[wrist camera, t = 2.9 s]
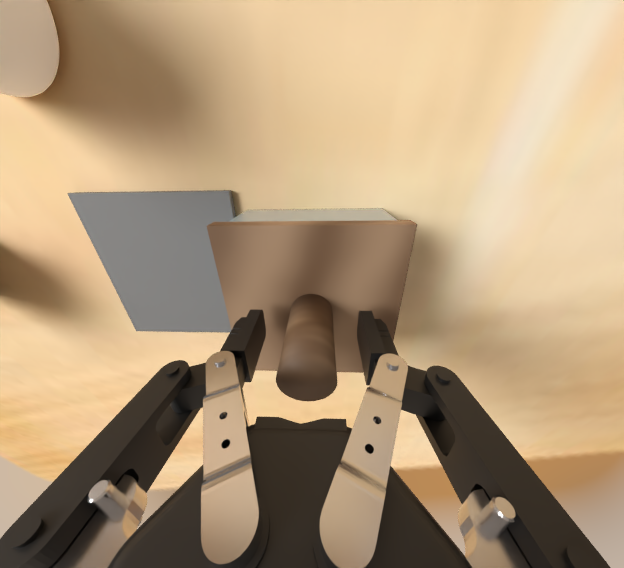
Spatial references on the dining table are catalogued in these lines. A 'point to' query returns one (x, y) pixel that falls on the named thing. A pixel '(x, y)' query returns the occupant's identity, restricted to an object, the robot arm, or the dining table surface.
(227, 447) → the robot arm
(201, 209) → the mat
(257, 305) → the lid
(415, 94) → the dining table surface
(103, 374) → the dining table surface
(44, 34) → the beverage can
